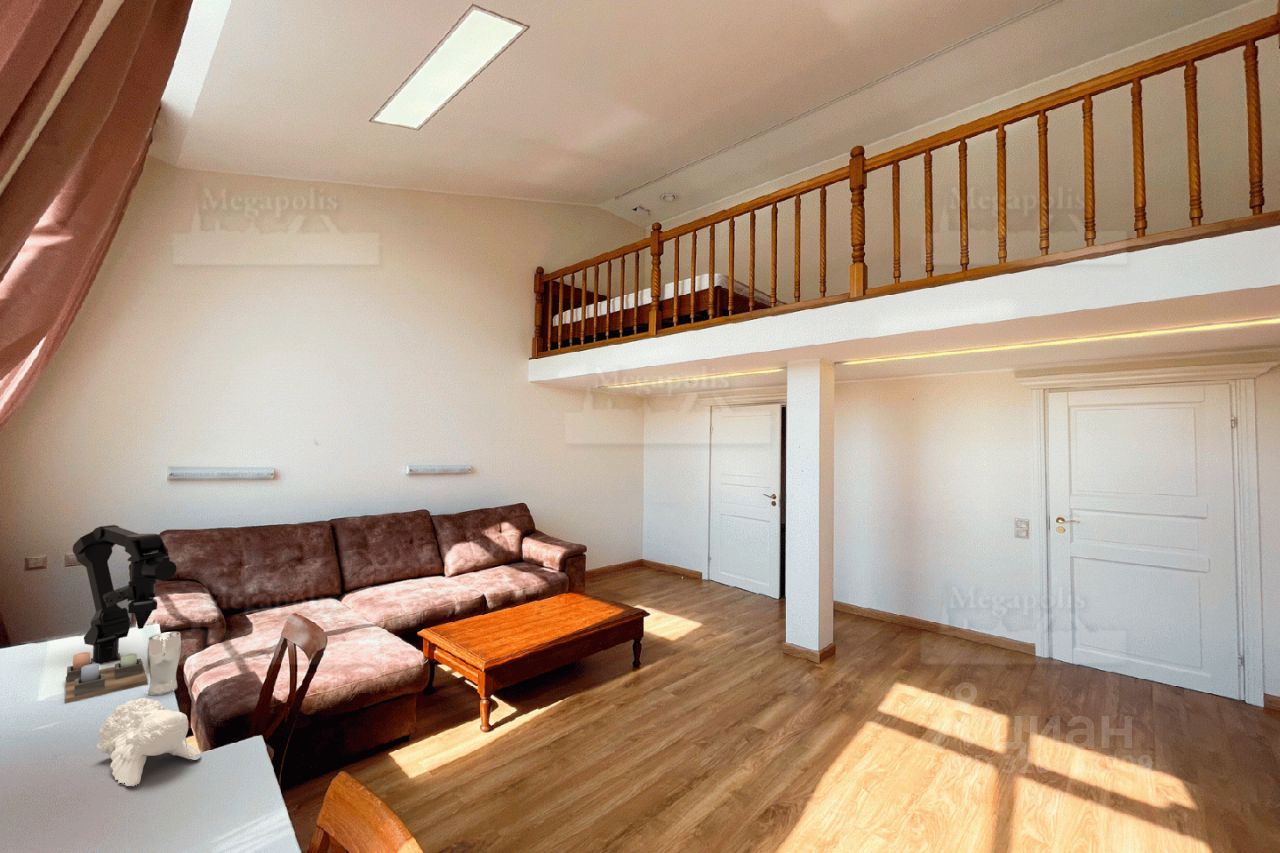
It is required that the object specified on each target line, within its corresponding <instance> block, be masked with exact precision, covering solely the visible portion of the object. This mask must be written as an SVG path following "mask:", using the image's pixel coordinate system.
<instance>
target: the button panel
mask: <svg viewBox="0 0 1280 853" xmlns="http://www.w3.org/2000/svg"><path fill="white" fill-rule="evenodd" d="M90 664H95V661H94V662H91V661H90ZM148 681H149V679H148V677H147V673H146V670H145V667H144V663H143V661H142V658H137V664H136V665H131V666H126V667H121V662H117V663H114V666H111V667H106V668H101V669H99V680H94V681H90V682H85V683H81V669H79V670H74V671H73V665H69V666H67V668H66V676H65V688H64V692H65V693H64V694H65V695H64V704H69V703H72V702H77V701H81V700H85V699H90V698H95V697H98V696H99V697H100V696H103V695H107V694H113V693H116V692H120V691H123V690H128V689H132V688H133V689H134V688H137V687H142V686H146V685H148V684H149V682H148ZM102 694H103V695H102ZM94 696H95V697H94Z"/></svg>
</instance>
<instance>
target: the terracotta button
mask: <svg viewBox="0 0 1280 853" xmlns="http://www.w3.org/2000/svg"><path fill="white" fill-rule="evenodd" d="M90 662H91V652H89V651H85V652H80V653H75V654H73V655H72V666H73V671H74V670H79V669H81V668H82V667H83V666H85V665H89V664H90Z"/></svg>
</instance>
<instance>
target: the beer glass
mask: <svg viewBox="0 0 1280 853" xmlns="http://www.w3.org/2000/svg"><path fill="white" fill-rule="evenodd" d="M181 650H182V640H181V632H180V631H166V632H162V633H156V634H154V635H151V636H149V637H148V644H147V650H146V651H147V652H146V656H147V657H146V658H147V665H148V666H147V667H148V672H149V677H150V682H149V687H148V691H147V695H148V696H151V697H159V696H163V695H167V694H170V693H172V692H174V691H176V690H177V689H178V682H177V672H178V671H177V670H178V665H179V663H180V662H179V661H180V658H181V652H182V651H181ZM171 680H172V682H171ZM173 689H174V691H173Z"/></svg>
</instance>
